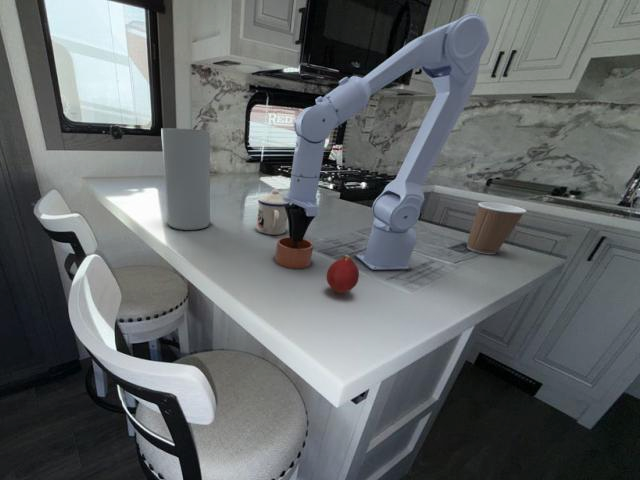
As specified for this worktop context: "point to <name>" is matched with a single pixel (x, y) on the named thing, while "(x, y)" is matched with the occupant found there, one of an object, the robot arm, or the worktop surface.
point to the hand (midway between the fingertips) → (295, 239)
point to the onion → (342, 275)
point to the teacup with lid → (272, 214)
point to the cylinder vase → (187, 177)
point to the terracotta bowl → (293, 253)
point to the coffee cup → (492, 226)
